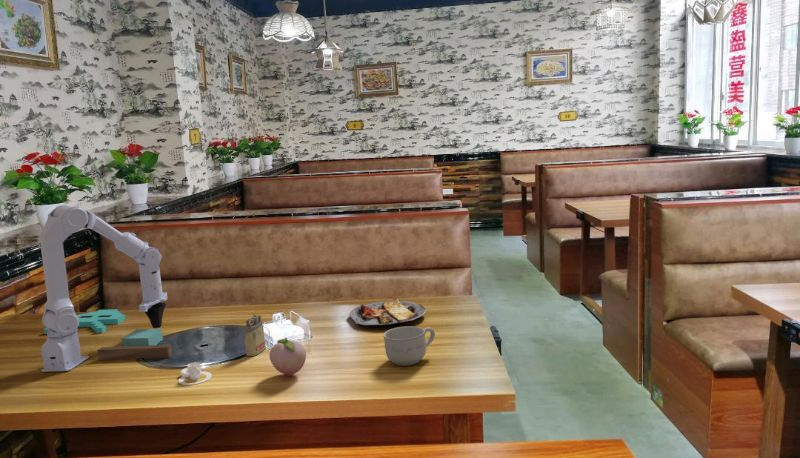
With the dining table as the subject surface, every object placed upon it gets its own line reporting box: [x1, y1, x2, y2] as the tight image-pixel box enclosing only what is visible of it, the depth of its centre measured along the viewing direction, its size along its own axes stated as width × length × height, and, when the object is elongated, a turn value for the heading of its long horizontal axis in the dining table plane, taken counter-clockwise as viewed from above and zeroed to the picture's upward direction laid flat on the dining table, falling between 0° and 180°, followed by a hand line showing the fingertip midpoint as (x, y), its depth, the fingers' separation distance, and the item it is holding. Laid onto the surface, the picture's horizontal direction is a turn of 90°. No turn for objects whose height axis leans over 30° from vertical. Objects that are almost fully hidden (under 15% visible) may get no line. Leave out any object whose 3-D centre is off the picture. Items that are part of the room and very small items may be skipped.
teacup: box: [382, 325, 436, 367], centre depth 151 cm, size 14×11×8 cm
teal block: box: [121, 328, 164, 347], centre depth 175 cm, size 8×8×4 cm
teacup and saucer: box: [177, 361, 212, 386], centre depth 149 cm, size 9×8×4 cm
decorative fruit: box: [268, 336, 307, 377], centre depth 146 cm, size 9×8×10 cm
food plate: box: [348, 297, 427, 326], centre depth 188 cm, size 25×23×4 cm
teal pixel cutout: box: [43, 308, 126, 334], centre depth 200 cm, size 20×2×20 cm
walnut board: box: [97, 344, 172, 361], centre depth 166 cm, size 2×20×3 cm, turn 87°
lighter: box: [243, 314, 267, 357], centre depth 164 cm, size 7×4×10 cm, turn 163°
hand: (157, 327), depth 183 cm, fingers closed
